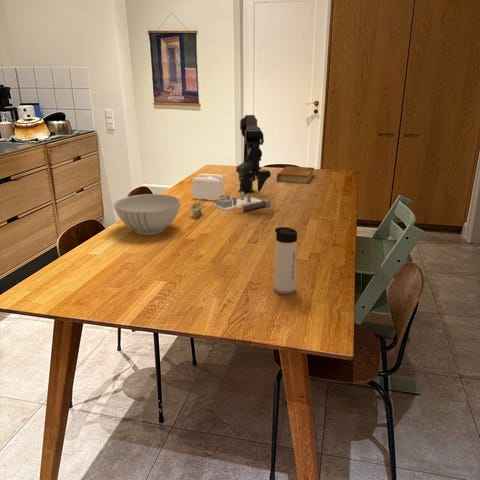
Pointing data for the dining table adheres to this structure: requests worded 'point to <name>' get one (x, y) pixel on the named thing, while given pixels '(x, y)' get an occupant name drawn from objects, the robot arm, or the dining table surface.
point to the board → (235, 201)
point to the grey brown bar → (251, 206)
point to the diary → (295, 175)
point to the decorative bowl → (148, 212)
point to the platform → (196, 209)
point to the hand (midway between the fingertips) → (252, 189)
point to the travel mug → (285, 260)
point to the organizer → (207, 187)
